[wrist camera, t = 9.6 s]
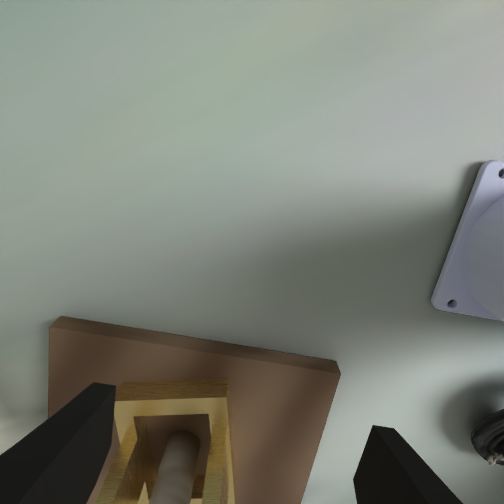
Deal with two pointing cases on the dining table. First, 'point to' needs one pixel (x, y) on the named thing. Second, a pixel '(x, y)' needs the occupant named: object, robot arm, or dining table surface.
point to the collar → (138, 445)
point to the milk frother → (490, 438)
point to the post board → (198, 425)
